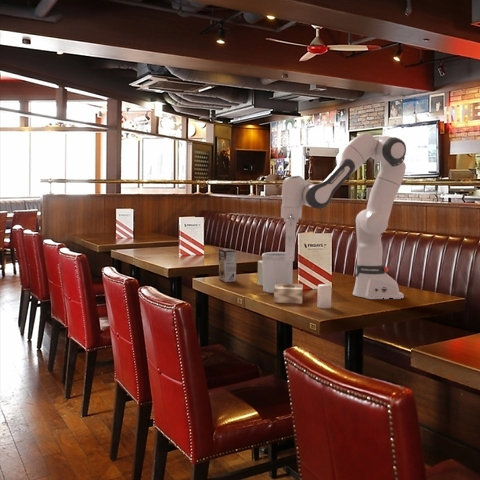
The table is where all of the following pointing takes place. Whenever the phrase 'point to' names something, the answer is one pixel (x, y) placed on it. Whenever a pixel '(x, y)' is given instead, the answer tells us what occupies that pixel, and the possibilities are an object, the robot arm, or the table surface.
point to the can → (260, 273)
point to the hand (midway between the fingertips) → (290, 246)
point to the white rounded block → (324, 296)
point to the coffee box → (227, 265)
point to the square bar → (289, 250)
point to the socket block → (288, 293)
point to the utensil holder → (276, 270)
